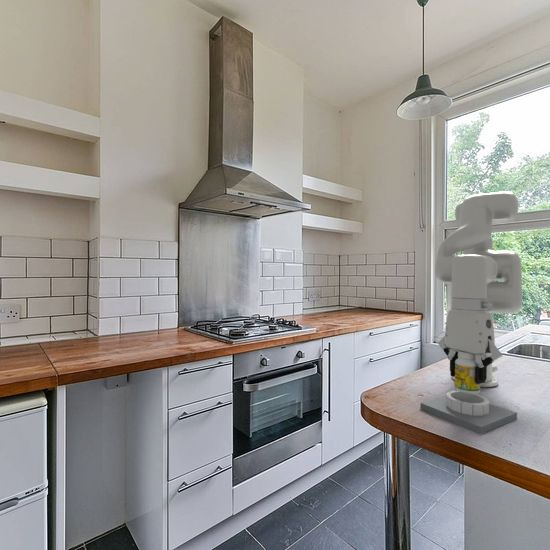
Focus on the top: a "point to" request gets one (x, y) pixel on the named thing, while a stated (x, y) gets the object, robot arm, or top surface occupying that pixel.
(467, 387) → the supplement bottle
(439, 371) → the top surface
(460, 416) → the socket board
